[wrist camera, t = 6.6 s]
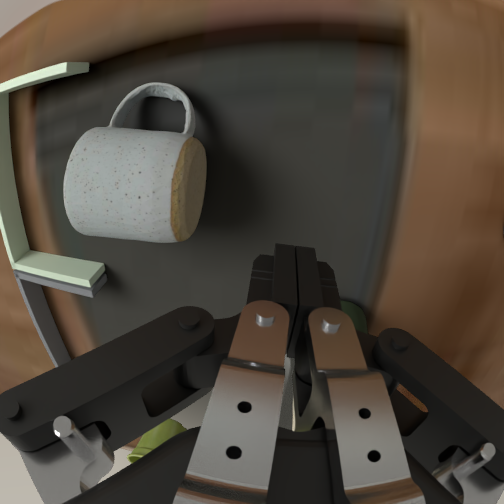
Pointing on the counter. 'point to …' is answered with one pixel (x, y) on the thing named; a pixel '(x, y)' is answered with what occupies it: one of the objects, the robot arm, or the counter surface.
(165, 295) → the counter surface
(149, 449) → the plant pot
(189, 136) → the ceramic mug
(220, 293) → the counter surface
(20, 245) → the corral green
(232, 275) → the counter surface
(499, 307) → the counter surface
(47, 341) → the corral charcoal
